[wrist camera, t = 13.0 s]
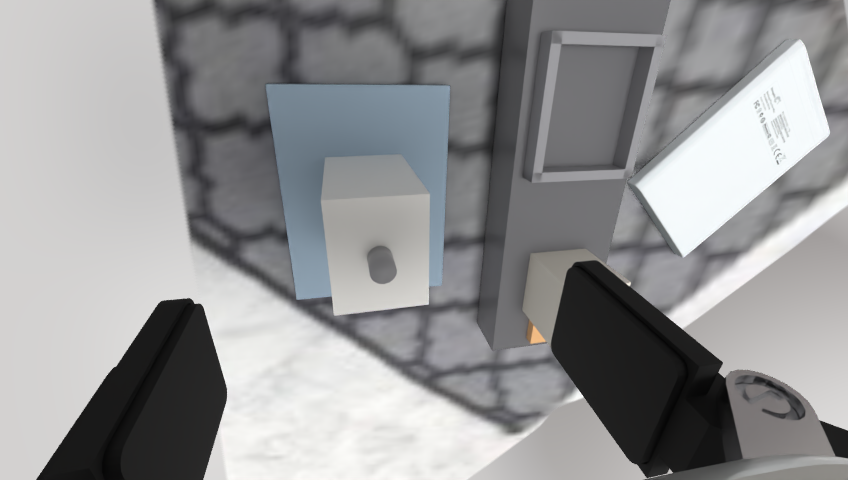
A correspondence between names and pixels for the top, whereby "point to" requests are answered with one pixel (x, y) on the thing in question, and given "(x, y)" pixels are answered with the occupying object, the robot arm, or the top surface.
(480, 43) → the top surface
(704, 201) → the external hard drive
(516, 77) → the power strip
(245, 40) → the top surface
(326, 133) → the mat
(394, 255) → the block
